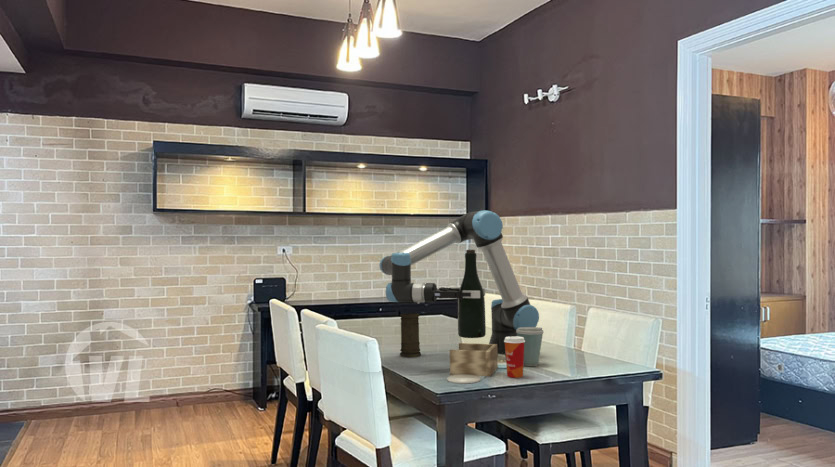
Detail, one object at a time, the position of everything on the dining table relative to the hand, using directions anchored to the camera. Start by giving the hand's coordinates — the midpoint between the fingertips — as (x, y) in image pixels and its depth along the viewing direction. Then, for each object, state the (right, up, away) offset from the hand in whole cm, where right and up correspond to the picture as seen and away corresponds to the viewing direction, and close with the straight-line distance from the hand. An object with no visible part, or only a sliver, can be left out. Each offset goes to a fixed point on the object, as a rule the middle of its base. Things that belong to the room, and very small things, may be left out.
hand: (482, 293), depth 241 cm
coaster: (-8, -30, -13) cm, 33 cm away
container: (-28, -30, +34) cm, 53 cm away
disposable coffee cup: (+20, -29, +11) cm, 37 cm away
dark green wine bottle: (-4, -17, +1) cm, 17 cm away
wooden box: (-4, -30, +1) cm, 30 cm away
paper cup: (+11, -30, -9) cm, 33 cm away
